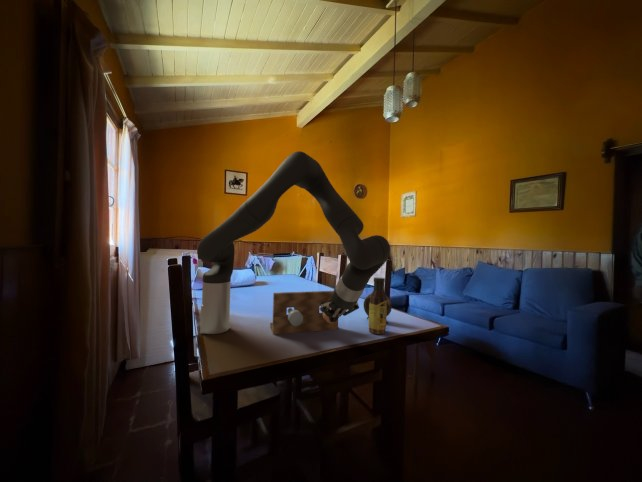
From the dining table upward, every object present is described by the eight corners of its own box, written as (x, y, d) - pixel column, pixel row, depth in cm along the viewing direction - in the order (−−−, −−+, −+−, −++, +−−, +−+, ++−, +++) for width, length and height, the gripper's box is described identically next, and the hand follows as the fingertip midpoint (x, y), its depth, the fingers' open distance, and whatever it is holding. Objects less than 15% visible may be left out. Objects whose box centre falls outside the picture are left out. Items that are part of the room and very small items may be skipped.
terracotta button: (316, 315, 99) (316, 303, 99) (327, 314, 100) (327, 302, 100) (325, 323, 89) (325, 310, 89) (337, 322, 91) (337, 309, 91)
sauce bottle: (382, 336, 94) (384, 279, 94) (365, 332, 97) (367, 277, 97) (388, 331, 100) (390, 277, 99) (372, 327, 103) (374, 276, 103)
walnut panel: (273, 334, 93) (274, 293, 92) (270, 326, 100) (271, 289, 100) (337, 329, 100) (339, 291, 100) (330, 322, 108) (331, 287, 107)
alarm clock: (391, 322, 110) (392, 283, 110) (387, 326, 106) (388, 284, 105) (366, 317, 116) (367, 280, 116) (361, 320, 111) (362, 281, 111)
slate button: (283, 317, 95) (284, 304, 95) (295, 316, 96) (296, 304, 96) (289, 326, 86) (289, 312, 86) (302, 325, 87) (303, 311, 87)
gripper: (365, 278, 82) (347, 308, 94) (324, 279, 78) (311, 310, 90) (373, 300, 77) (353, 328, 89) (329, 302, 73) (315, 331, 85)
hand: (332, 319), depth 89 cm, fingers closed
